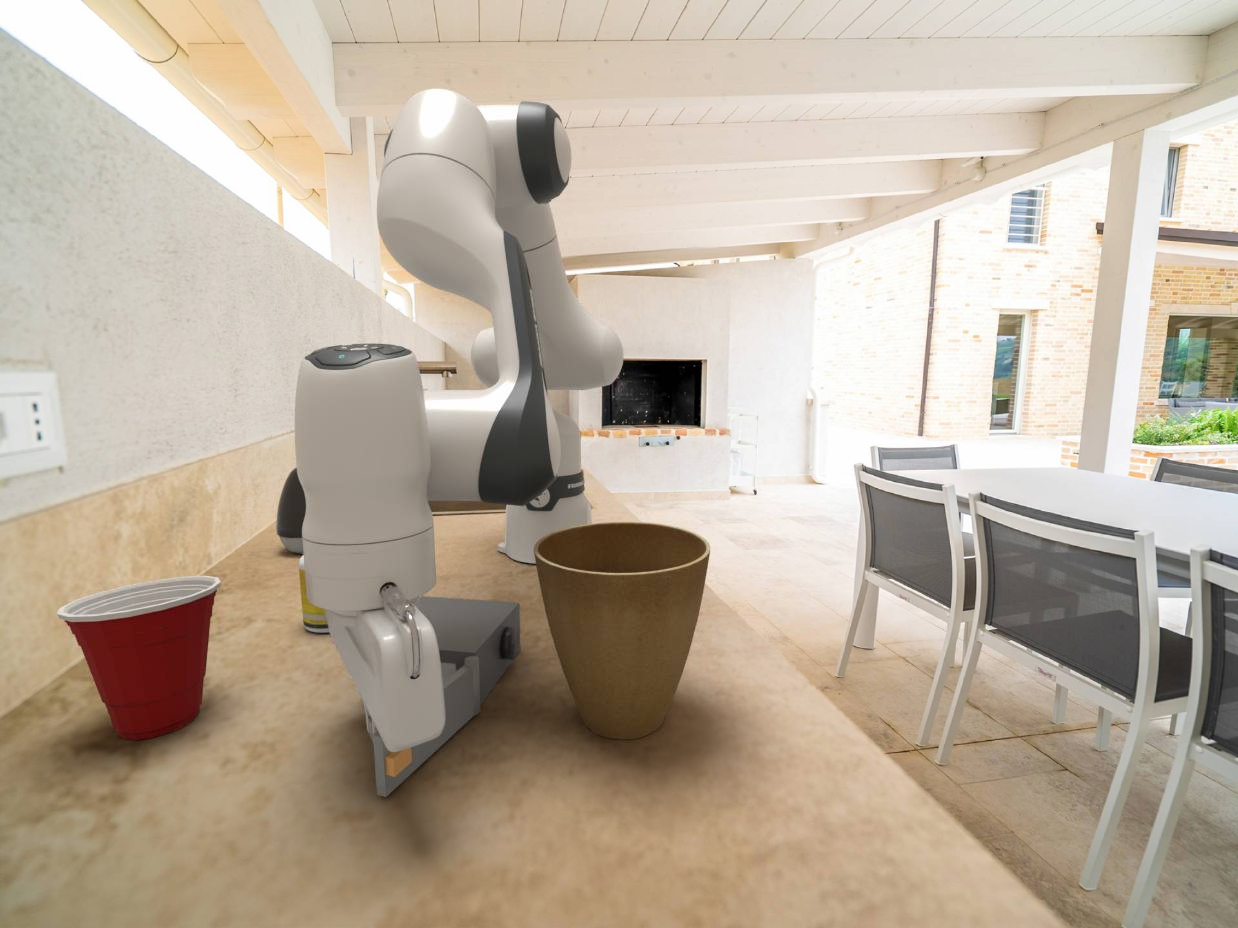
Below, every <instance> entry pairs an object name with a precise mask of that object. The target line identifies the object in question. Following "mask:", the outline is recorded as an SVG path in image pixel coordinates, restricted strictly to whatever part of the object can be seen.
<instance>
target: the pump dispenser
mask: <svg viewBox="0 0 1238 928" xmlns="http://www.w3.org/2000/svg"><path fill="white" fill-rule="evenodd" d="M305 513H306V498H305V494H304V490H303V487H302V485H301V483H300V480H299V478H298V474H297V466H296V467H295V468H293V469H292V470H291V472H289V474H288V476H287V477H286V479H285V481H284V485H283V487H282V490H281V493H280V495H279V501H278V505H277V513H276V525H275V527H276V535H277V536H278V537H279V540H280V542H281V544H282V545H283V546H284V547H285V548H286V549H287V550H288V551H290V552H292V553H295V554H299V553H303V541H302V526H303V521H304V518H305Z"/></svg>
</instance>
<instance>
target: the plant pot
mask: <svg viewBox="0 0 1238 928" xmlns="http://www.w3.org/2000/svg"><path fill="white" fill-rule="evenodd" d="M534 555H535V561H536V564H535V565H536V571H537V576H538V577H537V578H538V581H539V587H540V593H541V596H542V603H543V607H544V611H545V615H546V618H547V624H548V627H549V631H550V635H551V638H552V641H553V644H554V648H555V651H556V655H557V657H558V660H559V663H560V666H561V671H562V672H563V675H564V678H565V681H566V683H567V686H568V688H569V691H570V693H571V696H572V698H573V700H574V704H575V705H576V708H577V710H578V712H579V714H580V717H581V719H582V721H583V724H584V725H585V726H586V727H587V728H588V730H590V731H592V732H593V733H594V734H596V735H598V736H601V737H604V738H608V739H613V740H633V739H640V738H642V737H645V736H648V735H650V734H652V733H654V732H655V731H656V730H658V729H659V728H660V727H661V726H662V724H663V723H664V721H665V718H666V716H667V714H668V712H669V709H670V707H671V704H672V702H673V700H674V697H675V695H676V693H677V689H678V686H679V684H680V680H681V678H682V676H683V672H684V669H685V666H686V663H687V660H688V657H689V654H690V651H691V646H692V644H693V640H694V636H695V631H696V627H697V623H698V618H699V615H700V609H701V607H702V606H701V604H702V602H703V601H702V600H703V595H704V589H705V584H706V578H707V573H708V566H709V560H710V555H711V545H710V542H708V540H707V539H705V538H704V537H703V536H701V535H700V534H698V533H696V532H695V531H691V530H689V529H685V528H683V527H679V526H674V525H670V524H661V523H656V522H655V523H654V522H642V521H606V522H595V523H593V522H592V524H585V525H579V526H574V527H570V528H566V529H562V530H559V531H556V532H553V533H550V534H548V535H546V536H544V537H543V538H541V539H540V540H539V541H538V542H537V543H536V544H535V546H534Z"/></svg>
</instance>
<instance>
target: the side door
mask: <svg viewBox="0 0 1238 928" xmlns="http://www.w3.org/2000/svg"><path fill="white" fill-rule="evenodd" d="M443 691H444V702H445V715H446V720H445V725H444V728H443V731H442V733H441V734H440V735H439V736H438V737H437V738H434V739H432V740H430V741H427V742H425V743H422V744H419V745H417V746H414V747H411V748H408V749H405V750H401V751H398V752H390V751H389V750H388V749H387V748H386V746H385V744H384V742H383V740H382V738H381V736H380V734H379V732H376V733H375V734H374V735H373V741H372V743H373V742H374V743H373V754H374V755H373V756H374V757H373V758H374V770H375V771H374V772H375V786H376V795H377V796H381V797H384V798H387V797H388V796H389V795H390V794H392V792H393V791H394V790H395V789H397V788H398V786H400V785H401V784H402V783H403V782H404V781H405V780H406V779H407V778H408V777H410V776H411V774H413V773H414V771H416V770H417V769H418V768H419V767H420V766H421V765H423V763H425V762H426V761H427V760H428V759H429V758H430V757H431V756H432V755H433V754H434V753H435V752H436V751H437V750H439V749H440V748H441V747H443V745H444V744H445V743H447V741H448V740H450V739H451V738H452V737H453V736H454V735H455V734H456V733H457V732H458V731H459V730H460V729H461V728H463V726H464V725H466V724H467V723H468V722H469V721H470V720H471V719H472V718H473V717H474V716H477V715H479V714H480V713H481V705H480V684H479V658H478V657H477V656H468V657H466V658H465V665H464V666H463V667H461V668H460V669H459V670H457V671H456V672H455V673H453V674H452V675H451V676H450V677H448V678H447V679H446V680H444V681H443Z"/></svg>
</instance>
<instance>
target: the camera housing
mask: <svg viewBox="0 0 1238 928" xmlns="http://www.w3.org/2000/svg"><path fill="white" fill-rule="evenodd" d="M418 609H419V610H420V612H421V613H422V614H423V615H424V616H425V617H426V618H427V619H428V620H429V622H430V623H431V625H432V626H433V629H434V631H435V634H436V638H437V643H438V648H439V654H440V662H441V671H442V681H444V680H446V679H447V678H448V677H450V676H451V675H452V674H453V673H455V672H456V671H457V670H459V669H460V668H461V667H463V666H464V665H465V658H466V657H468V656H477V657H478V658H479V684H480V706H481V705H482V704H483V703H484V701H485V700H486V699H487V697H488V695H490V693H491V692H492V690H493V689H494V687H495V686H496V685H497V683H498V682H499V680H500V679H501V677H502V676H503V675H504V673H505V672H506V671H507V669H508V668H509V667H510V665H511V664H512V662H513V661H514V660H516V658H517V656H518V654H519V653H520V651H521V648H522V647H521V617H520V616H521V614H520V609H521V607H520V602H518V601H504V600H503V601H502V600H501V601H500V600H488V599H487V600H486V599H473V598H472V599H470V598H456V597H442V596H441V597H440V596H426V595H425V596H424V595H422V596H420V606H419V608H418ZM360 698H361V697H360ZM361 700H362V698H361Z"/></svg>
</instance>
